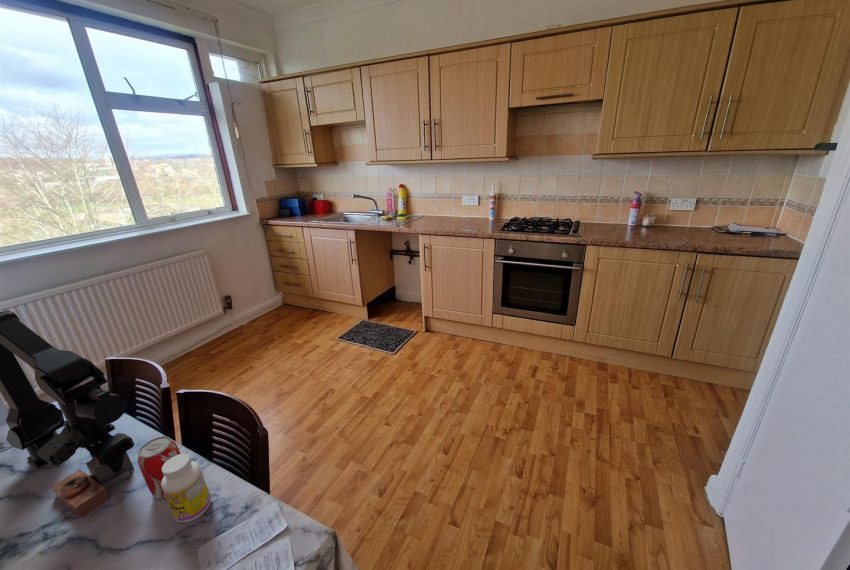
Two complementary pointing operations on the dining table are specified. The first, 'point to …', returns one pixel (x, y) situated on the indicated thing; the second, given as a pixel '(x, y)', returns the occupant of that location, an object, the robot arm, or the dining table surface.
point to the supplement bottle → (185, 488)
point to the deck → (86, 491)
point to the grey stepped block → (107, 470)
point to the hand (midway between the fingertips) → (110, 466)
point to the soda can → (156, 462)
